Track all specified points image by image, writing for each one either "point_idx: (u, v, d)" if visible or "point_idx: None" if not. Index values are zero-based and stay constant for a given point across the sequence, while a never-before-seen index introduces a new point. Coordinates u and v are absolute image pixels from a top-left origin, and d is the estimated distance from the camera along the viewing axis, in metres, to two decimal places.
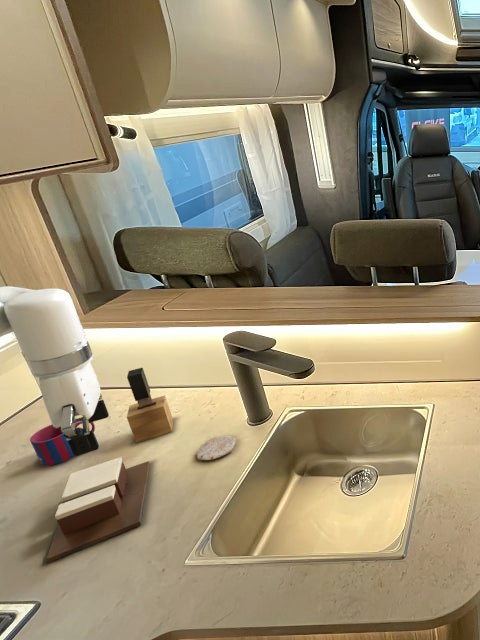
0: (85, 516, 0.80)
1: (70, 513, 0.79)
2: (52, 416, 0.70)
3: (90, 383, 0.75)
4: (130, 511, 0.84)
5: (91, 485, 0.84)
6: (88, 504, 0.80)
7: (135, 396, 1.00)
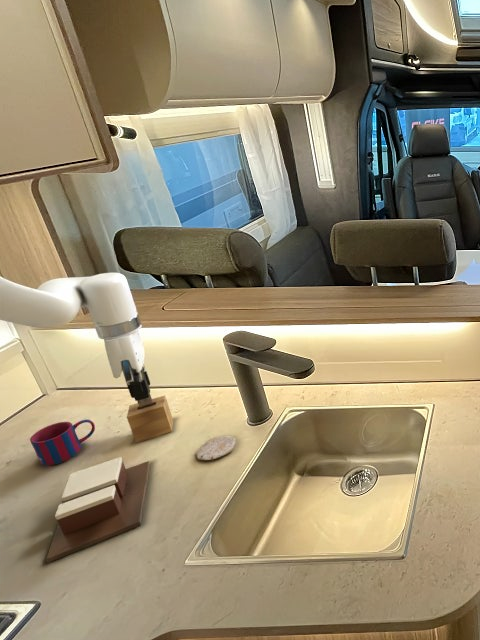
0: (85, 516, 0.80)
1: (70, 513, 0.79)
2: (113, 368, 0.93)
3: (139, 345, 0.98)
4: (130, 511, 0.84)
5: (91, 485, 0.84)
6: (88, 504, 0.80)
7: None
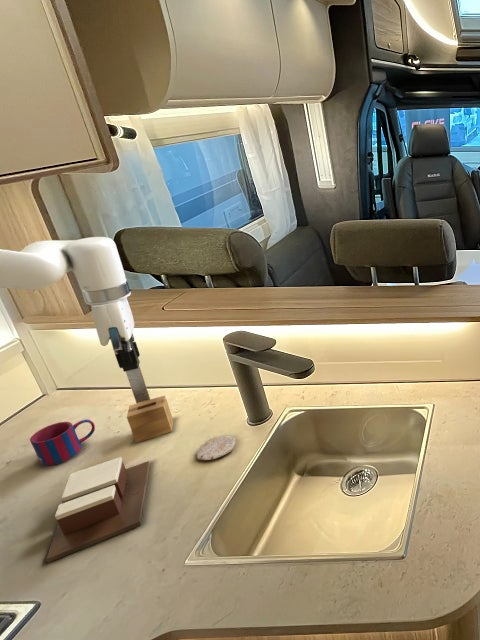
0: (85, 516, 0.80)
1: (70, 513, 0.79)
2: (100, 335, 0.90)
3: (128, 314, 0.95)
4: (130, 511, 0.84)
5: (91, 485, 0.84)
6: (88, 504, 0.80)
7: None
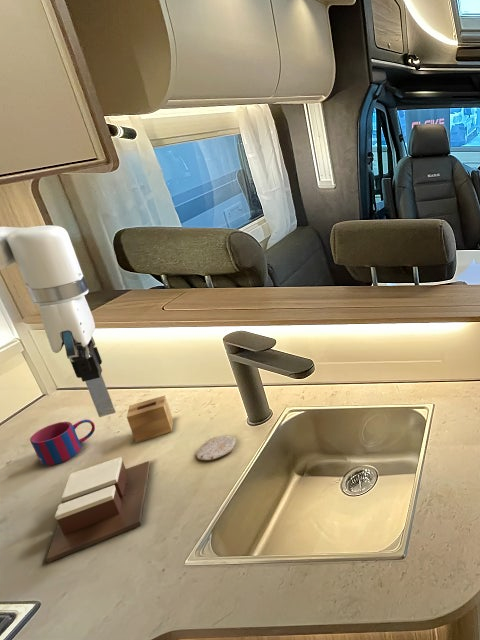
0: (85, 516, 0.80)
1: (70, 513, 0.79)
2: (51, 341, 0.77)
3: (86, 315, 0.82)
4: (130, 511, 0.84)
5: (91, 485, 0.84)
6: (88, 504, 0.80)
7: None
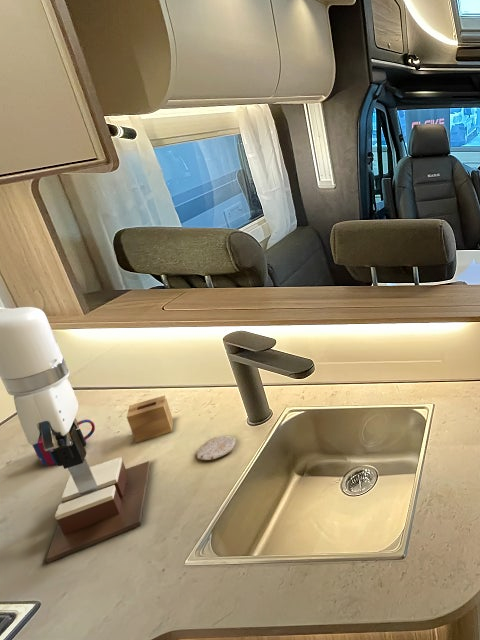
0: (85, 516, 0.80)
1: (70, 513, 0.79)
2: (27, 433, 0.71)
3: (66, 399, 0.76)
4: (130, 511, 0.84)
5: None
6: (88, 504, 0.80)
7: None
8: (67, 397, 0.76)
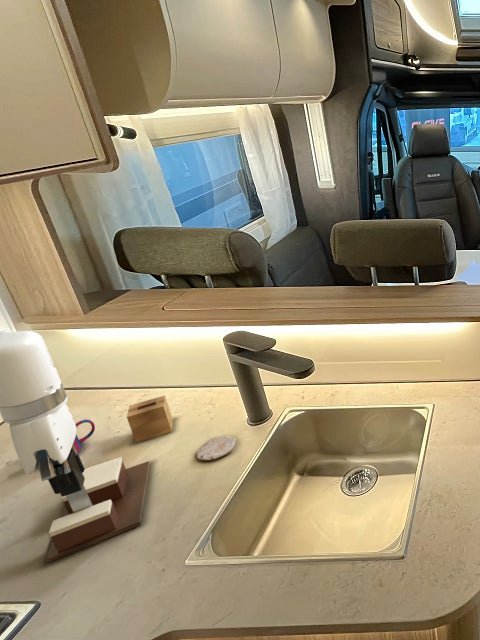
0: (80, 532, 0.77)
1: (64, 530, 0.76)
2: (23, 462, 0.68)
3: (64, 425, 0.73)
4: (130, 511, 0.84)
5: (91, 485, 0.84)
6: (83, 520, 0.77)
7: None
8: (65, 423, 0.73)
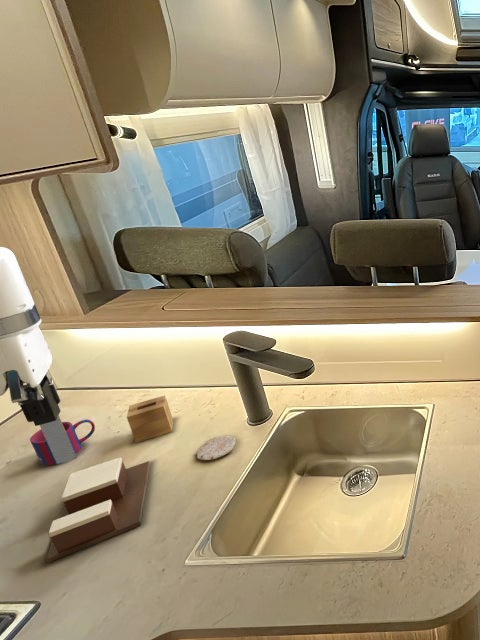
0: (80, 533, 0.77)
1: (64, 530, 0.76)
2: None
3: (37, 350, 0.70)
4: (130, 511, 0.84)
5: (91, 485, 0.84)
6: (83, 520, 0.77)
7: None
8: (38, 347, 0.71)
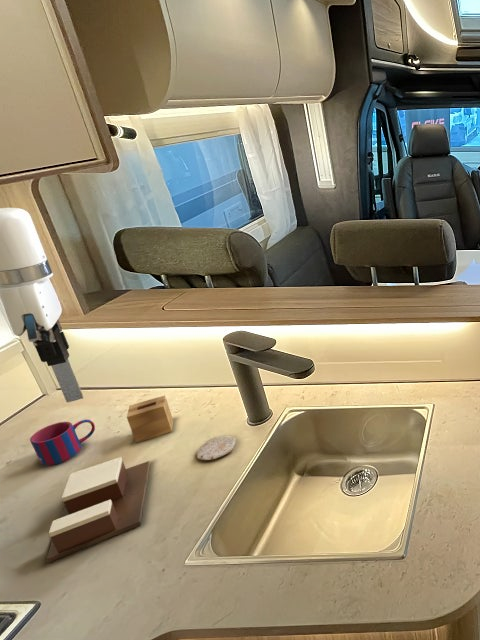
0: (80, 533, 0.77)
1: (64, 530, 0.76)
2: (12, 323, 0.77)
3: (50, 299, 0.81)
4: (130, 511, 0.84)
5: (91, 485, 0.84)
6: (83, 520, 0.77)
7: None
8: (50, 297, 0.82)
